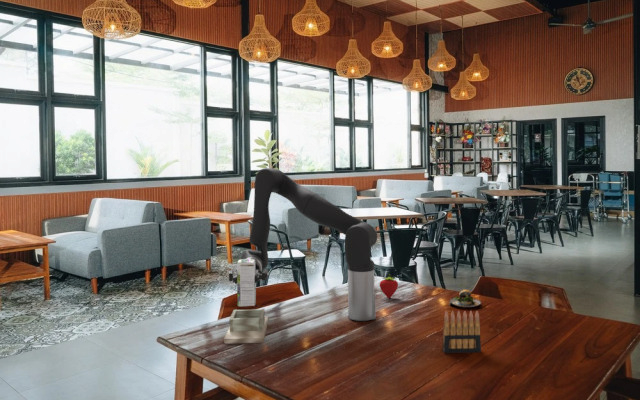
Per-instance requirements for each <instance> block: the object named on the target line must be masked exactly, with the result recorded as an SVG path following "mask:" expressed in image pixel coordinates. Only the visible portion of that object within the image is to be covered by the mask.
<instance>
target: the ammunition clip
mask: <svg viewBox="0 0 640 400" xmlns="http://www.w3.org/2000/svg"><path fill="white" fill-rule="evenodd" d="M461 315H462V316H461ZM455 318H456V319H455ZM449 319H450V321H449ZM480 328H481V324H480V314H479V311H478V310H476V311H475V314H474V315H473V312H472V310H470V311H469V314H468V315H467V311H466V310H464V311H463V314H461V312H460V310H458V311H457V315H456V317H455V312H454V311H453V310H452V311H451V314H450V318H449V313H448V311H447V310H446V311H445V312H444V319H443V334H442V352H443V353H444V354H453V353H454V354H458V353H462V354H463V353H466V354H468V353H481V352H482V346H481V344H482V342H481V329H480Z"/></svg>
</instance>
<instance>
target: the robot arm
mask: <svg viewBox="0 0 640 400" xmlns="http://www.w3.org/2000/svg"><path fill="white" fill-rule="evenodd" d="M272 193H273V194H277V195H278V196H281V197H282V198H285V199H286V200H288V201H290V203H291V204H292V205H293V206H294V208H295V209H296V210H297V212H299V213H301V215H303V216H304V217H305V218H308V219H309V220H310V221H312V222H314V223H317V224H319V225H320V226H323V227H327V228H330V229H332V230H336V231H338V232H340V233H342V234H343V235H344V252H345V262H346V264H347V294H348V295H347V298H348V299H347V303H348V305H347V306H348V309H347V310H348V311H347V312H348V318H349V319H350V320H353V321H357V322H366V321H370V320H377V319H376V292H375V262H374V261H373V260H372V258H371V248H372V247H373V246H374V245H375V244H376V243H377V240H378V234H377V231H376V229H375V228H374V227H373V226H372V225H371V223H367V222H365V221H363V220H361V219H359V218H357V217H356V216H353V215H351V214H349V213H347V212H345V211H344V210H342V209H341V208H339V207H338V206H336V205H335V204H334V203H332V202H330V201H329V200H327V199H326V198H324V197H323V196H321V195H319V194H317V193H316V192H314V191H312V190H310V189H308V188H307V187H304V186H303V185H301V184H299V183H297V182H296V181H294V180H293V179H292V178H290V177H289V176H288V175H287V174H286V173H284V172H283V171H282V170H280V169H278V168H269V167H268V168H267V167H266V168H265V167H264V168H261V169H259V170H258V171H257V173H256V175H255V179H254V198H253V217H252V223H251V230H250V234H249V243H250V245H253V246H255V247H257V248H259V250H260V251H259V250H252V249H245V250H244V251H243V252H242V254H241V257H240V260H241V259H254V260H255V283H256V284H257V283H258V282H260V281H266V280H267V279H268V278H269V273H270V271H269V268H268V264H269V253H268V252H269V251H268V240H269V236H270V232H271V231H270V229H271V217H270V209H269V208H270V207H269V205H270V200H271V199H270V198H271V195H272ZM228 281H229V282H232V283H234V284H235V285H237V270H236V271H234V270H232V269H229V270H228Z"/></svg>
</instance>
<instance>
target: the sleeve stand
mask: <svg viewBox="0 0 640 400" xmlns="http://www.w3.org/2000/svg"><path fill="white" fill-rule="evenodd" d="M265 313H266V311H265V308H261V309H259V308H258V309H233V311H232V313H231V315H230V316H229V317H230V318H229V320H228V323H229V327H228V330H227V332H226V334H225V335H224V339H223V341H224V344H257V343H259V344H260V343H261V344H262V343H265V337H266V333H267V327H268V322H269V316H266V315H265Z"/></svg>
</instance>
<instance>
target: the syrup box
mask: <svg viewBox="0 0 640 400" xmlns="http://www.w3.org/2000/svg"><path fill="white" fill-rule="evenodd" d="M236 271H237V284H236V286H237V288H236V289H237V296H236V297H237V307H251V306H252V307H255V306H256V302H257V299H256V298H257V296H256V295H257V292H256V291H257V287H256V284H257V283H255V260H254V259H241V258H240V259H238V261H237V263H236Z"/></svg>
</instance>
